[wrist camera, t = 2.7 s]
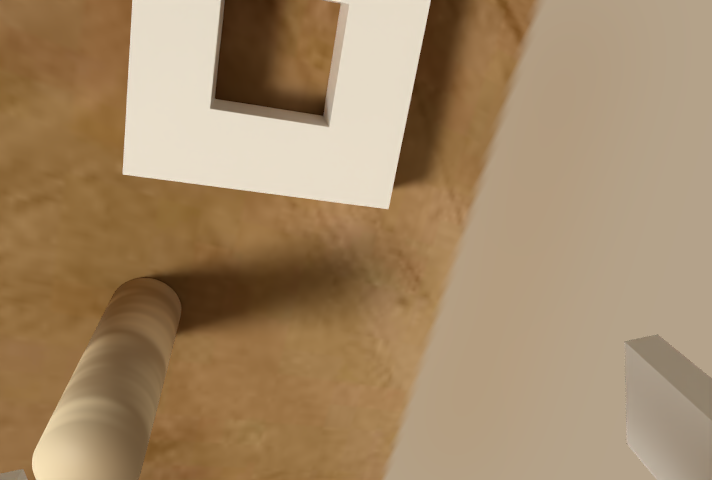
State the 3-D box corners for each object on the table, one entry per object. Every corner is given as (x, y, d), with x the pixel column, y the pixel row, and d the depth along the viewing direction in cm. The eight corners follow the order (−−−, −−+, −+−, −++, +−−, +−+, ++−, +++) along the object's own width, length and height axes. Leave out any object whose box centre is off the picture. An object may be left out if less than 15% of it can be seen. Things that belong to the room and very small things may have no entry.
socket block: (135, 158, 30) (122, 174, 27) (153, -121, 26) (140, -136, 23) (377, 191, 32) (388, 209, 30) (426, -61, 29) (444, -68, 26)
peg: (108, 336, 33) (31, 504, 22) (111, 274, 32) (32, 418, 21) (178, 342, 34) (138, 508, 23) (184, 281, 33) (144, 425, 22)
